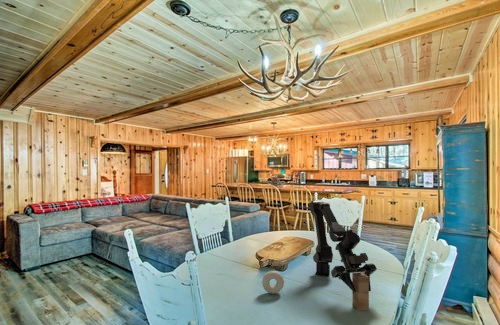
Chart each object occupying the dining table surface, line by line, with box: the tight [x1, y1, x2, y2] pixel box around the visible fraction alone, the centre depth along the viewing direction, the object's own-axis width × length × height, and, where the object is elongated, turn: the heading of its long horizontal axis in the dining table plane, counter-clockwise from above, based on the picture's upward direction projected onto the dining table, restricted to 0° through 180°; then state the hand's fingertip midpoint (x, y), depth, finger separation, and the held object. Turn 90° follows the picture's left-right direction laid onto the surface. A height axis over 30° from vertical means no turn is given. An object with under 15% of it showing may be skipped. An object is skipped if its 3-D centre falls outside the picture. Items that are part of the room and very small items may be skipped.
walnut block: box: [351, 272, 370, 312], centre depth 101 cm, size 4×4×13 cm
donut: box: [261, 270, 285, 295], centre depth 112 cm, size 10×4×10 cm, turn 92°
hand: (362, 291), depth 99 cm, fingers open, 6 cm apart
